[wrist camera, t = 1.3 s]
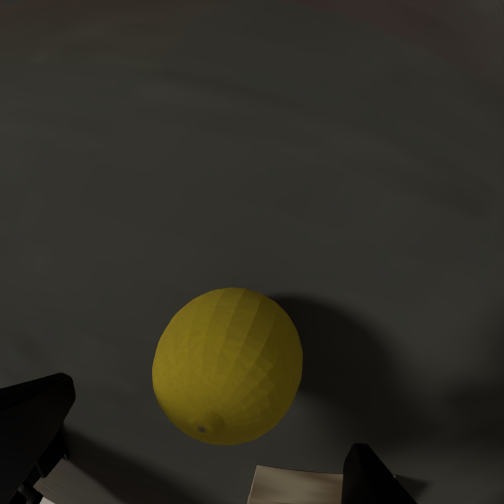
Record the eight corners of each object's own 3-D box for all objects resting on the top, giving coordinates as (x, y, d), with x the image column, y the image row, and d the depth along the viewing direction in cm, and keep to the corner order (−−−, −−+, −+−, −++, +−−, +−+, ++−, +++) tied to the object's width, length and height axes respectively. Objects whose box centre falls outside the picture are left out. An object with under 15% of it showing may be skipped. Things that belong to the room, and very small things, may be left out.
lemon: (326, 319, 15) (341, 435, 8) (251, 383, 17) (218, 499, 9) (242, 241, 15) (179, 307, 7) (173, 317, 16) (91, 408, 9)
